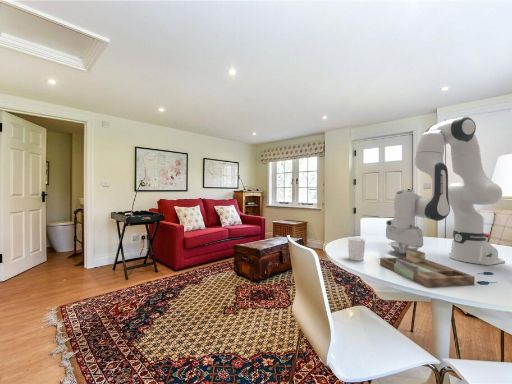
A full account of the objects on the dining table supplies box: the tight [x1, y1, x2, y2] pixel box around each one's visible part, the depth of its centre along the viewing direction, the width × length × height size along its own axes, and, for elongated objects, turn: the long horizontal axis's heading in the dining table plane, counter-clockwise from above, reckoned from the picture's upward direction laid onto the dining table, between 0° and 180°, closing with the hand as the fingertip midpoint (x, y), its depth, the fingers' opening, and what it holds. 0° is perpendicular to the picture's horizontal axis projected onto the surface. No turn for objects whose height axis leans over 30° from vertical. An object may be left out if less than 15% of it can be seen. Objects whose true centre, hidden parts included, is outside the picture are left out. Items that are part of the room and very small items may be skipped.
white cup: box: [347, 236, 366, 262], centre depth 123 cm, size 8×8×10 cm
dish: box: [388, 241, 421, 255], centre depth 134 cm, size 18×14×5 cm
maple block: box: [405, 249, 426, 262], centre depth 112 cm, size 5×5×4 cm
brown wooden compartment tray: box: [379, 256, 476, 288], centre depth 103 cm, size 20×26×6 cm
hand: (402, 252), depth 119 cm, fingers closed
